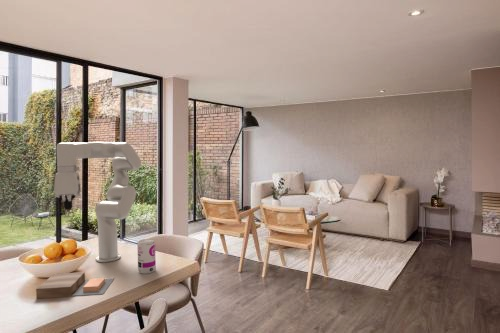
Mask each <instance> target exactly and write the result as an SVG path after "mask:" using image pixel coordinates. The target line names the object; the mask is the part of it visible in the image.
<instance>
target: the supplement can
mask: <svg viewBox="0 0 500 333" xmlns="http://www.w3.org/2000/svg"><path fill="white" fill-rule="evenodd" d="M156 262H157V261H156V243H155V240H154V239H153V238H144V239H140V240H138V243H137V271H138V273H139V274H144V275H145V274H146V275H148V274H151V273H154V272H155V270H156V269H157V267H156V266H157V264H156Z"/></svg>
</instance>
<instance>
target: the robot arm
mask: <svg viewBox="0 0 500 333" xmlns="http://www.w3.org/2000/svg"><path fill="white" fill-rule="evenodd" d="M109 158H112V160H111V167H112V170H113V174H114V175H113V178H112V181H111V184H110V185H109V187H108V189H107V191H106V195H105V197H106V199H107V200H101V201H100V202H98V203H97V204H96V206H95V209H94V210H95V211H94V212H95V216H96V221H97V232H98V233H97V236H98V237H97V240H98V244H97V245H98V255H97V256H96V257H95V261H96V262H98V263H111V262H115V261H118V260H119V259H121V258H122V255H121V253H118V252H119V251H118V250H119V249H118V247H119V246H118V226H117V225H118V224H117V222H116V220H125V219H126V218H127V217H128V216H129V213H130V211H131V208H132V207H133V205H134V202H135V200H136V196H137V191H136V188H135V187H134V186H133V185H130V184H129V183H130V177H129V175H128V174H127V172H126V171H138V170H139V169H140V168H141V167H142V160H141V158H140V156H139V155H138V153H137V152H136V150H135V148H134V147H133V146H132V145H131V144H129V143H128V142H125V141H124V142H123V141H120V142H119V141H117V142H115V141H113V142H112V141H108V142H107V141H91V142H59V143H57V144H56V164H57V165H56V166H57V170H56V171H57V172H56V173H55V177H54V187H53V188H54V197H55V198H58V199H59V198H60V199H61V201H62V202H63V208H64V210H65V211H70V210H72V208H73V201H74V199H75V198H78V197H80V196H81V192H82V186H81V178H80V174H79V172H77V171H80V167H79V166H77V160H76V159H109Z"/></svg>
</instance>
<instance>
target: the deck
mask: <svg viewBox="0 0 500 333" xmlns="http://www.w3.org/2000/svg"><path fill="white" fill-rule="evenodd" d="M85 274H86V273H85V271H81V272H78V271H77V272H63V273H53V274H52V275H51V276H49V277H48V278H47V279H46V280H45V281H44V282H42V283H41V284H40V285H39V286H38V287H36V289H35V292H36V294H35V295H36V299H47V298H49V299H51V298H64V297H65V298H66V297H69V298H70V297H73V296H72V295H73V294H74V293H75V292H76V291H77V290H78V289H79V287H80V286H81V285H82V284H83V283H84V282H85V281H86V275H85Z"/></svg>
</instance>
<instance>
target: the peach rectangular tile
mask: <svg viewBox="0 0 500 333" xmlns="http://www.w3.org/2000/svg"><path fill="white" fill-rule="evenodd" d="M105 279H106V277H99V278H98V277H97V278H96V277H94V278H90V279H88V280H89V281H88V282H87V283H86V284H85V286H84V287H83V292H88V291H99V289H100V288H101V287H102V286H103V284H104V283H105Z"/></svg>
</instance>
